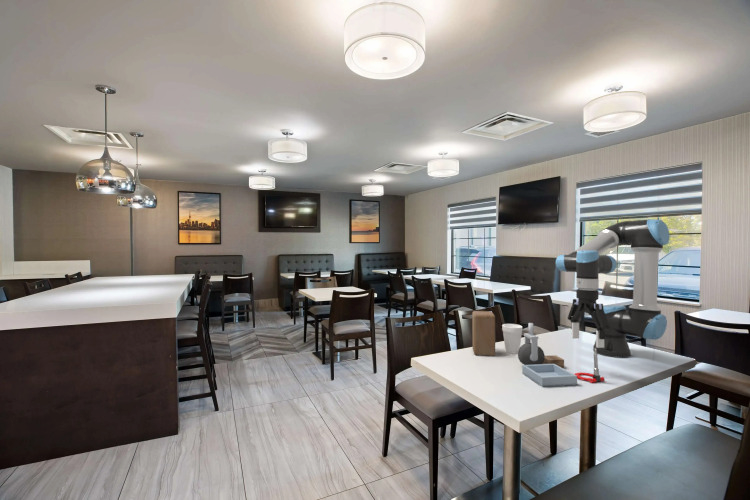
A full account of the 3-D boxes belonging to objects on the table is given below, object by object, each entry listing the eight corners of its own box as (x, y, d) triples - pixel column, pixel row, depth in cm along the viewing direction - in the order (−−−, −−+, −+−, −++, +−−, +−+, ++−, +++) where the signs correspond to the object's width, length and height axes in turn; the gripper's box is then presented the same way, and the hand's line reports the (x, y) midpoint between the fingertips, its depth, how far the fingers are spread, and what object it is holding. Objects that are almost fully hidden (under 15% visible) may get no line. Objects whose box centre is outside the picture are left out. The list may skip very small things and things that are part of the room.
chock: (556, 364, 154) (556, 355, 154) (564, 368, 148) (564, 359, 148) (540, 364, 154) (540, 355, 154) (548, 369, 148) (548, 360, 148)
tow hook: (569, 376, 140) (590, 384, 131) (568, 344, 140) (589, 349, 131) (585, 374, 142) (606, 381, 134) (583, 342, 143) (605, 347, 134)
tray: (554, 372, 144) (554, 363, 144) (577, 385, 130) (577, 375, 130) (522, 373, 142) (522, 365, 142) (542, 387, 128) (542, 377, 128)
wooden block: (495, 356, 165) (495, 315, 165) (474, 355, 167) (473, 314, 167) (492, 350, 174) (492, 311, 174) (472, 349, 176) (472, 310, 176)
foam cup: (500, 352, 171) (499, 326, 171) (504, 348, 179) (504, 323, 179) (520, 355, 166) (520, 328, 166) (524, 351, 173) (524, 325, 173)
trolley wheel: (538, 364, 153) (537, 321, 153) (546, 368, 147) (545, 324, 147) (516, 365, 152) (516, 322, 152) (523, 369, 146) (523, 325, 146)
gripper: (558, 286, 148) (558, 335, 148) (602, 293, 124) (602, 352, 124) (574, 285, 149) (574, 334, 149) (621, 292, 124) (621, 351, 124)
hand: (587, 342), depth 136 cm, fingers open, 13 cm apart
